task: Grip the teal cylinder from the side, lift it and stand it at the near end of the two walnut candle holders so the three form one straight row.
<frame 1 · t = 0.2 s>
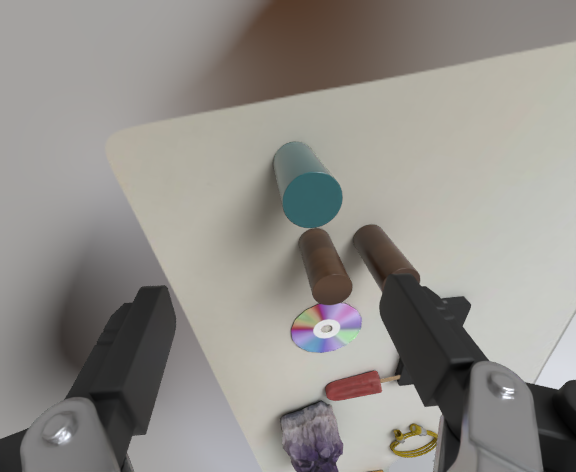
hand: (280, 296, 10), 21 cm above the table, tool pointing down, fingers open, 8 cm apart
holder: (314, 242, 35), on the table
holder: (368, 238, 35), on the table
smart home device: (425, 340, 48), on the table, touching popsicle
popsicle: (364, 379, 52), on the table, touching smart home device
cd: (326, 327, 43), on the table
extension cord: (413, 436, 67), on the table
geode: (309, 424, 58), on the table
teal cylinder: (294, 163, 29), on the table
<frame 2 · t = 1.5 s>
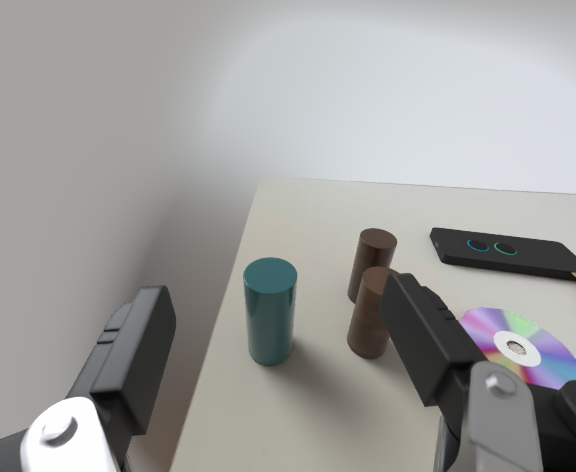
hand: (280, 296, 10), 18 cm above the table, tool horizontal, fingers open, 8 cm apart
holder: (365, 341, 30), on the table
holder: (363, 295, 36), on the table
smart home device: (500, 257, 44), on the table
cd: (515, 349, 30), on the table
teal cylinder: (270, 345, 29), on the table
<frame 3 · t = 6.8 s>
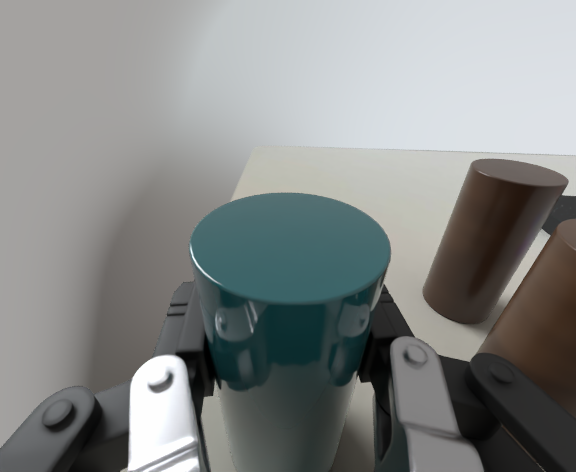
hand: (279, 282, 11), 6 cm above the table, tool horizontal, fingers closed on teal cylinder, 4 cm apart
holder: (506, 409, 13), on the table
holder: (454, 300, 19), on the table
teal cylinder: (283, 429, 12), on the table, touching gripper
when the fingers open (6 cm above the table, at t = 14.3 s): teal cylinder stays where it is, on the table.
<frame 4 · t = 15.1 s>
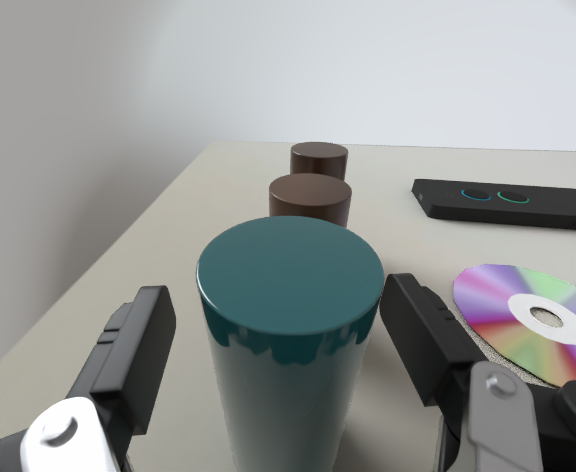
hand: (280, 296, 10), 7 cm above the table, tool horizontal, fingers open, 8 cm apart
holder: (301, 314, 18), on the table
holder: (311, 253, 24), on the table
smart home device: (506, 210, 33), on the table, touching popsicle
cd: (544, 319, 18), on the table
teal cylinder: (284, 437, 12), on the table
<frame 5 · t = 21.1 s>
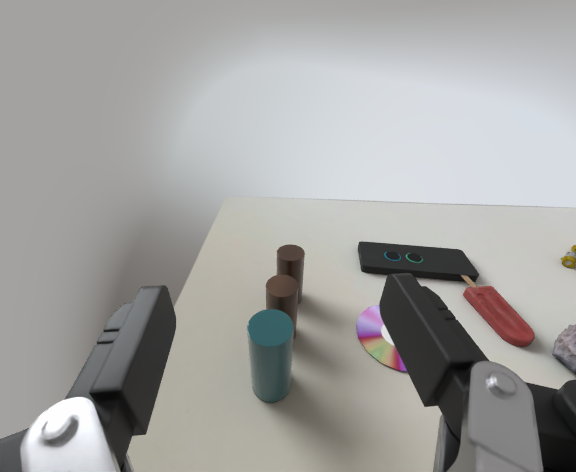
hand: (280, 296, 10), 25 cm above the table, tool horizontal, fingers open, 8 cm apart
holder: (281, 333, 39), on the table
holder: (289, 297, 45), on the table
smart home device: (412, 264, 53), on the table
popsicle: (484, 306, 44), on the table
cd: (396, 335, 39), on the table
teal cylinder: (271, 382, 33), on the table
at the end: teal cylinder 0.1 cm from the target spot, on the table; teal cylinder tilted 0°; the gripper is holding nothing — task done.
